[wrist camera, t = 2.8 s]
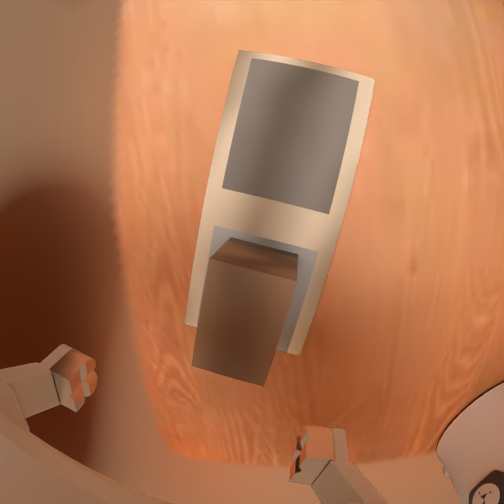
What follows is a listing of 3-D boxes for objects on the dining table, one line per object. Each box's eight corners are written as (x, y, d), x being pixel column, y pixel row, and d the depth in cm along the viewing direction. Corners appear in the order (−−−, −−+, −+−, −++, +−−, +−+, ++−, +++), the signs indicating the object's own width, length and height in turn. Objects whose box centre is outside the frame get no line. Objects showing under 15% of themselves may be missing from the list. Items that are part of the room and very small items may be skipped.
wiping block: (298, 254, 20) (296, 281, 15) (272, 343, 22) (263, 386, 17) (231, 237, 20) (209, 258, 15) (213, 327, 22) (191, 365, 17)
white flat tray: (370, 85, 17) (375, 79, 16) (300, 345, 23) (299, 355, 22) (242, 57, 18) (238, 49, 17) (190, 315, 24) (184, 324, 23)
